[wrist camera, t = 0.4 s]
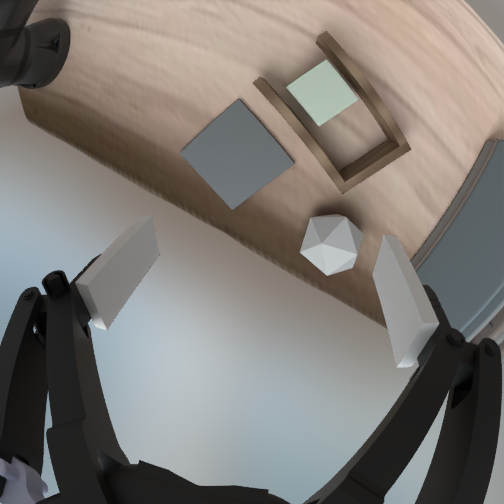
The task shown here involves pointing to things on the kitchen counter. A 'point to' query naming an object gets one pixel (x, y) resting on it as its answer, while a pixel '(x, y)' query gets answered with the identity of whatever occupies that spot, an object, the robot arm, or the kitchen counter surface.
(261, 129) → the mat
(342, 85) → the block
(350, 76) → the brown u-shaped bracket
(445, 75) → the kitchen counter surface
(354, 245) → the die
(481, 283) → the toaster
